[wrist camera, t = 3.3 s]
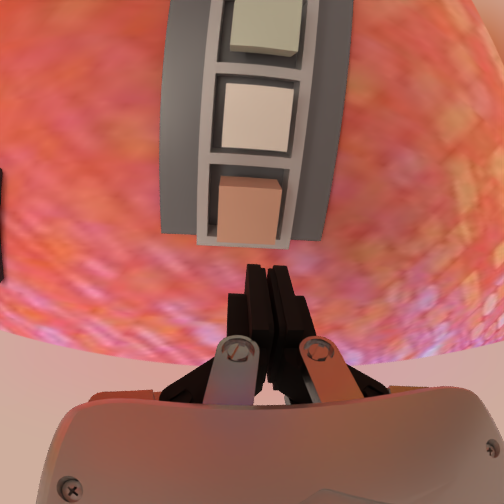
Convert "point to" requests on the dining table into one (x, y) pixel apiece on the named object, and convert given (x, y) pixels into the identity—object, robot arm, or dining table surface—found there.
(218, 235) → the key
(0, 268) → the calculator
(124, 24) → the dining table surface
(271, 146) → the key
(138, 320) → the dining table surface
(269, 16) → the key
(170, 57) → the keypad
